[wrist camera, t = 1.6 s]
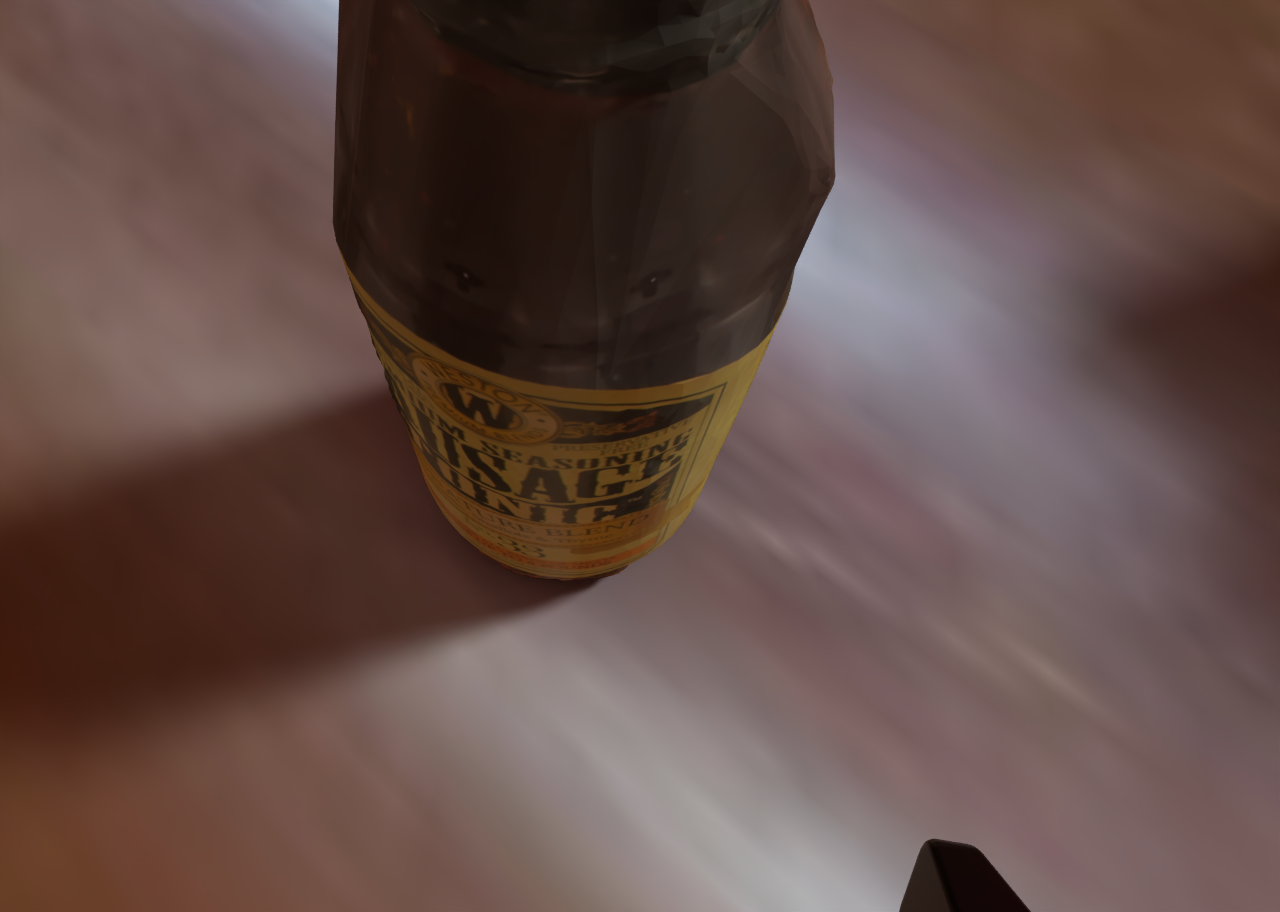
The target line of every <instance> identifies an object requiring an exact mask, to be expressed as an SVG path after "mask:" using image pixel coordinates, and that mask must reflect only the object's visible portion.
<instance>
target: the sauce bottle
mask: <svg viewBox="0 0 1280 912" xmlns="http://www.w3.org/2000/svg"><path fill="white" fill-rule="evenodd" d="M832 84H833V78H832V75H831V72H830V69H829V66H828V62H827V57H826V53H825V48H824V44H823V41H822V39H821V36H820V34H819V31H818V29H817V26H816V23H815V19H814V15H813V12H812V9H811V6H810V3H809V1H808V0H339V22H338V57H337V89H336V120H335V157H334V196H333V226H334V231H335V237H336V242H337V245H338V247H339V250H340V253H341V256H342V258H343V261H344V264H345V267H346V270H347V272H348V275H349V279H350V281H351V284H352V287H353V291H354V294H355V297H356V300H357V303H358V305H359V308H360V310H361V312H362V313H363V315H364V317H365V319H366V321H367V325H368V328H369V331H370V333H371V338H372V343H373V345H374V347H375V349H376V353H377V356H378V358H379V359H380V361H381V363H382V365H383V368H384V372H385V378H386V380H387V382H388V384H389V390H390V391H391V394H392V397H393V398H394V400H395V402H396V404H397V409H398V411H399V412H400V414H401V416H402V419H403V421H404V424H405V427H406V429H407V432H408V434H409V437H410V440H411V442H412V445H413V448H414V450H415V453H416V456H417V458H418V461H419V464H420V466H421V469H422V473H423V477H424V479H425V481H426V483H427V486H428V488H429V490H430V492H431V494H432V496H433V498H434V499H435V501H436V503H437V505H438V506H439V508H440V510H441V512H442V513H443V514H444V516H445V517H446V518H447V519H448V521H449V522H450V523H451V524H452V525H453V527H454V528H455V529H456V530H457V531H458V532H459V533H460V534H461V535H462V536H463V537H464V538H465V539H466V540H468V541H469V542H470V543H471V544H472V545H474V546H475V547H476V548H478V549H479V551H480V552H481V553H482V554H483V555H484V556H487V557H489V558H491V559H493V560H495V561H497V562H499V563H500V564H501V565H502V566H503V567H505V568H506V569H509V570H511V571H512V572H514V573H516V574H519V575H528V576H530V577H532V578H533V577H540V578H548V579H559V580H562V581H563V580H576V579H579V580H581V579H584V578H602V577H607V576H611V575H615V574H618V573H620V572H621V571H622V570H624V569H625V568H626V567H627V566H628V565H629V564H631V563H633V562H635V561H637V560H639V559H640V558H642V557H644V556H646V555H648V554H649V553H651V552H652V551H654V550H655V549H657V548H658V547H660V546H661V545H662V544H663V543H664V542H665V541H666V540H667V539H669V538H670V537H671V536H672V535H673V534H674V533H675V532H676V530H677V529H678V528H679V527H680V525H681V524H682V523H683V522H684V520H685V519H686V517H687V516H688V514H689V513H690V511H691V510H692V508H693V506H694V504H695V502H696V500H697V499H698V497H699V495H700V493H701V490H702V488H703V486H704V484H705V482H706V480H707V478H708V475H709V473H710V471H711V468H712V466H713V464H714V462H715V460H716V458H717V456H718V454H719V452H720V450H721V448H722V446H723V443H724V441H725V439H726V437H727V435H728V433H729V431H730V428H731V426H732V424H733V422H734V420H735V418H736V416H737V413H738V411H739V409H740V407H741V405H742V403H743V401H744V398H745V396H746V394H747V392H748V390H749V388H750V385H751V383H752V381H753V379H754V377H755V374H756V372H757V370H758V368H759V365H760V363H761V361H762V359H763V356H764V354H765V352H766V350H767V347H768V345H769V342H770V340H771V337H772V335H773V332H774V330H775V327H776V325H777V323H778V321H779V319H780V317H781V314H782V312H783V310H784V308H785V306H786V303H787V299H788V296H789V292H790V289H791V284H792V279H793V274H794V269H795V266H796V263H797V261H798V259H799V257H800V254H801V252H802V250H803V248H804V246H805V243H806V241H807V239H808V237H809V235H810V232H811V230H812V228H813V226H814V224H815V221H816V219H817V217H818V215H819V213H820V210H821V208H822V206H823V205H824V203H825V201H826V199H827V197H828V195H829V193H830V191H831V189H832V187H833V185H834V180H835V158H834V101H833V93H832Z"/></svg>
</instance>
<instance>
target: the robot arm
mask: <svg viewBox="0 0 1280 912" xmlns="http://www.w3.org/2000/svg"><path fill="white" fill-rule="evenodd" d="M899 912H1031V911H1030V910H1029V909H1028V908H1027V906H1026V905H1025V904H1024V903H1023V902H1022V900H1021V899H1020V898H1019V897H1018V896H1017V894H1016V893H1015V892H1014V891H1013V890H1012V888H1011V887H1010V886H1009V885H1008V883H1007V882H1006V881H1005V880H1004V879H1003V877H1002V876H1001V875H1000V874H999V873H998V871H997V870H996V869H995V868H994V866H993V865H992V864H991V863H990V862H989V860H988V859H987V858H986V857H985V856H984V854H983V853H982V852H981V851H980V850H978V849H977V848H976V847H974V846H972V845H969V844H964V843H958V842H952V841H946V840H940V839H930V840H928V841H926V842H925V843H924V845H923V846H922V847H921V849H920V852H919V854H918V857H917V860H916V863H915V866H914V869H913V872H912V874H911V877H910V880H909V883H908V886H907V889H906V892H905V895H904V897H903V900H902V903H901V907H900V911H899Z"/></svg>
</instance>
